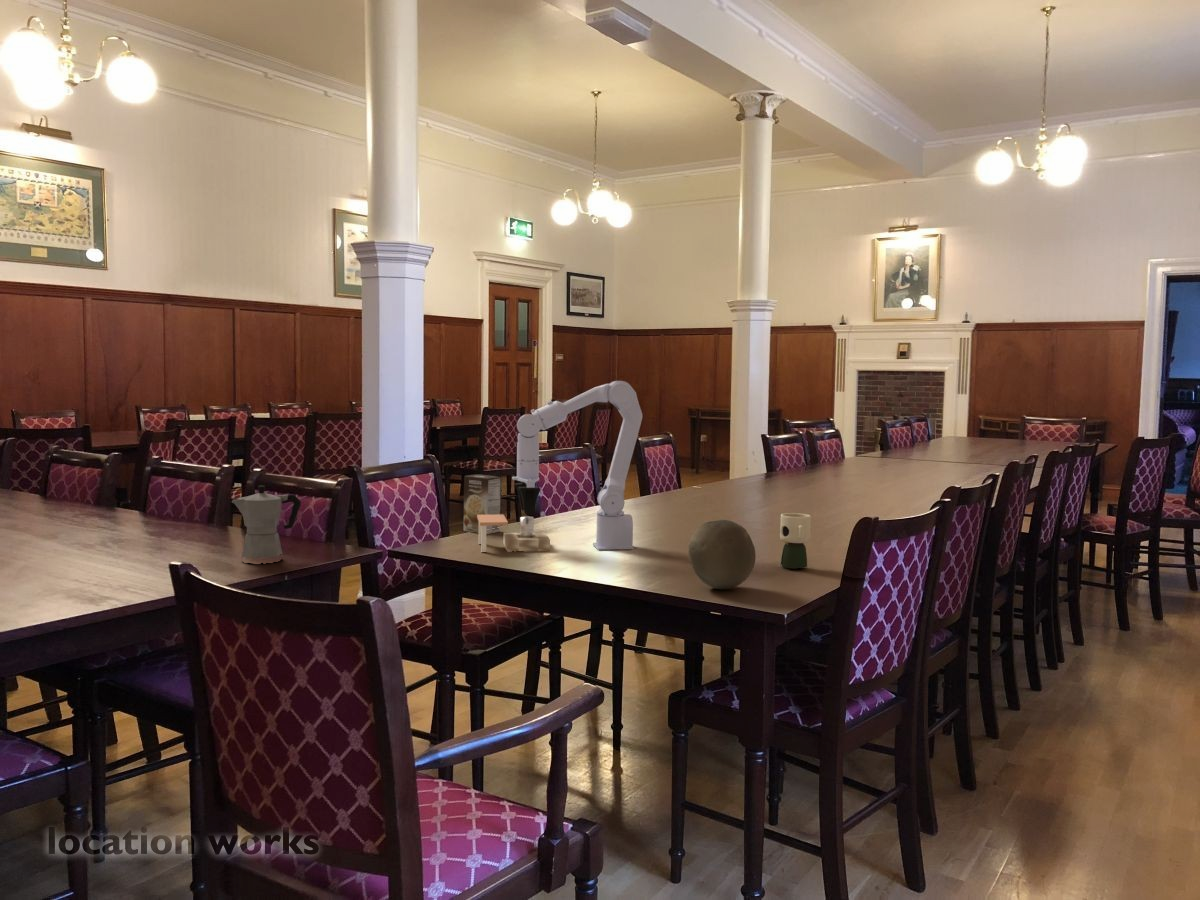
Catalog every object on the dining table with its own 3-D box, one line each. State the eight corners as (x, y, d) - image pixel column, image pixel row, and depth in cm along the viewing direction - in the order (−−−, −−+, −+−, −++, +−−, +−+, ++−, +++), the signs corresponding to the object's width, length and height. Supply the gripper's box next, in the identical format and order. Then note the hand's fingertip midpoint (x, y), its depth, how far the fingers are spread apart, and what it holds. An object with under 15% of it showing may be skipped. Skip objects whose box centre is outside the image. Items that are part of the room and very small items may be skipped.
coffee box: (462, 531, 262) (462, 475, 261) (476, 528, 268) (477, 473, 267) (486, 534, 258) (487, 478, 256) (501, 531, 263) (501, 476, 262)
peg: (532, 546, 241) (532, 516, 241) (534, 548, 238) (534, 518, 237) (518, 546, 240) (518, 516, 240) (520, 548, 237) (521, 518, 236)
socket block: (544, 543, 246) (544, 532, 245) (549, 551, 235) (550, 539, 235) (503, 543, 243) (503, 532, 243) (507, 551, 233) (507, 540, 232)
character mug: (773, 563, 224) (775, 511, 223) (802, 563, 225) (803, 511, 224) (785, 573, 213) (787, 518, 212) (815, 573, 214) (817, 518, 213)
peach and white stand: (503, 543, 244) (503, 514, 244) (507, 552, 232) (507, 522, 231) (476, 543, 243) (477, 514, 242) (479, 553, 230) (480, 522, 230)
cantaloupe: (694, 580, 204) (696, 514, 203) (758, 585, 200) (760, 518, 199) (681, 594, 190) (683, 523, 189) (749, 600, 186) (751, 527, 185)
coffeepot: (233, 566, 209) (232, 488, 207) (231, 558, 217) (230, 484, 216) (303, 562, 215) (303, 486, 214) (298, 554, 224) (298, 482, 222)
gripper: (509, 457, 244) (509, 508, 245) (515, 462, 230) (514, 516, 231) (536, 457, 245) (535, 507, 246) (543, 462, 231) (542, 516, 232)
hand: (527, 511), depth 239 cm, fingers open, 7 cm apart
